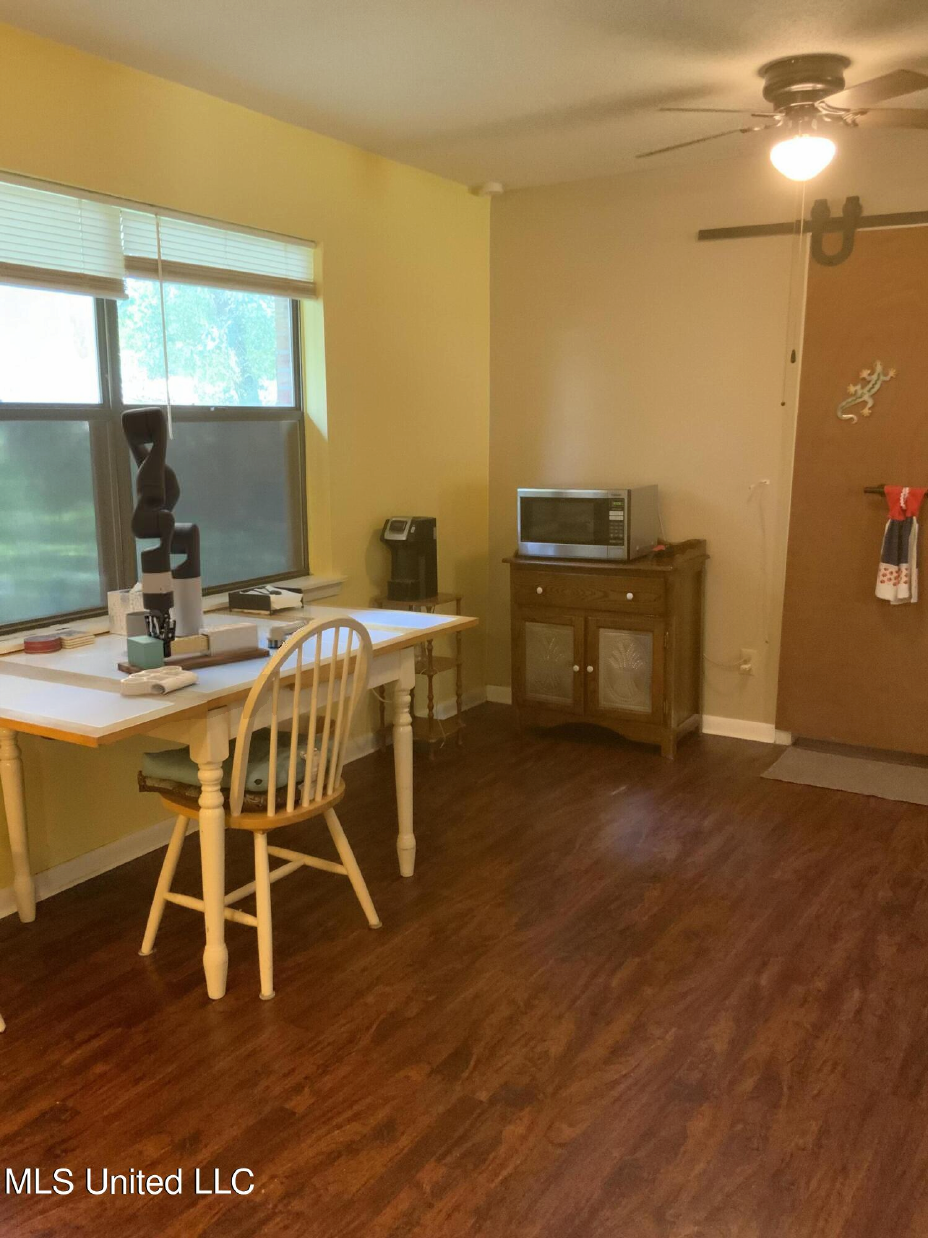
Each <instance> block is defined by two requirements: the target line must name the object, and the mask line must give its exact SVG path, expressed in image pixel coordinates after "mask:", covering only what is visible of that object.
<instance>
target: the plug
mask: <svg viewBox="0 0 928 1238" xmlns="http://www.w3.org/2000/svg"><path fill="white" fill-rule="evenodd" d="M170 648H171V655H174V654H181V653H187V652H193V651H199V650H205V649H209V639H208V635H206V634H202V635H195V636H186V637H175V640H174V641H172V642H171V643H170Z"/></svg>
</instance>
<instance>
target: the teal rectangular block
mask: <svg viewBox="0 0 928 1238" xmlns="http://www.w3.org/2000/svg"><path fill="white" fill-rule="evenodd" d="M126 648H127V662H128V663H129V664H132V665H135V666H138V667H140V668H143V669H150V668H156V667H162V666H164V653H163V641H162V640H159V639H156V638H152V637H149V636H146V635H144V636H137V637H131V638H127V637H126Z"/></svg>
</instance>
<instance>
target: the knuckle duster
mask: <svg viewBox="0 0 928 1238" xmlns="http://www.w3.org/2000/svg"><path fill="white" fill-rule="evenodd" d="M198 681H199V676H198V675H197V674H196V673H194V672H192V671H189V670H184V671H183V670H182V668H181V667H179V666H164V667H161V668H157V669H149V670H145V671H142V672H139V673H135V674H130V675H128V677H126V678H121V679H120V682H119V683H120V694H121V695H124V696H137V695H138V696H139V695H144V694H155V695H159V694H161V693H162V694H161V695H165V694H167V693H170V692H173V691H177V690H179V689H182V688H185V687H187V686H190V685H194V684H197V683H198ZM161 691H163V692H161ZM158 693H159V694H158Z"/></svg>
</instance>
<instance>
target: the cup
mask: <svg viewBox="0 0 928 1238" xmlns="http://www.w3.org/2000/svg"><path fill="white" fill-rule="evenodd" d="M149 611H150V610H144V611H143V610H142V611H140V610H139V611H132V612H128V613H126V614H125V628H126V629H125V630H126V639H127V638H131V637H137V636H144V635H146V636H148V632H147V628H146V623H145V619H144V615H149ZM151 633H152V632H151Z"/></svg>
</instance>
